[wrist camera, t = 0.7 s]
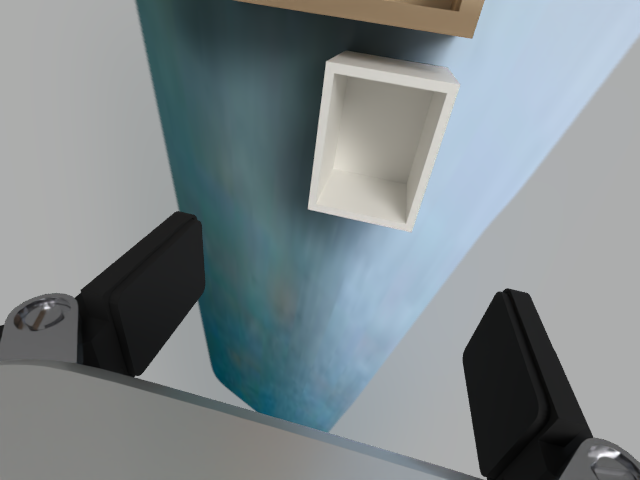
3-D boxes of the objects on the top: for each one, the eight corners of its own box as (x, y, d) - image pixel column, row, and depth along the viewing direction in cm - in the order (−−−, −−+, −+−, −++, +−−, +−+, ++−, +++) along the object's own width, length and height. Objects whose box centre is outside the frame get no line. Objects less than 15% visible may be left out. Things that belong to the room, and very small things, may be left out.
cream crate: (345, 50, 24) (326, 61, 18) (447, 67, 23) (460, 84, 18) (327, 171, 29) (307, 209, 23) (411, 188, 28) (411, 232, 23)
